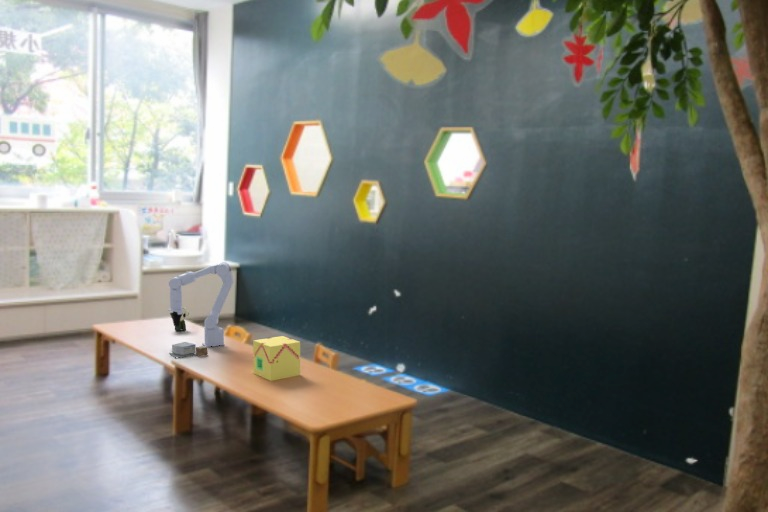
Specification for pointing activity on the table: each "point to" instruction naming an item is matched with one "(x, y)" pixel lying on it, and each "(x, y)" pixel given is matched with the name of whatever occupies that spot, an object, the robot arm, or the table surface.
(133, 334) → the table surface
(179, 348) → the medicine box
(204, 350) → the walnut block
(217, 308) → the robot arm
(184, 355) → the mat
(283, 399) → the table surface
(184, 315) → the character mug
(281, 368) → the toy block
